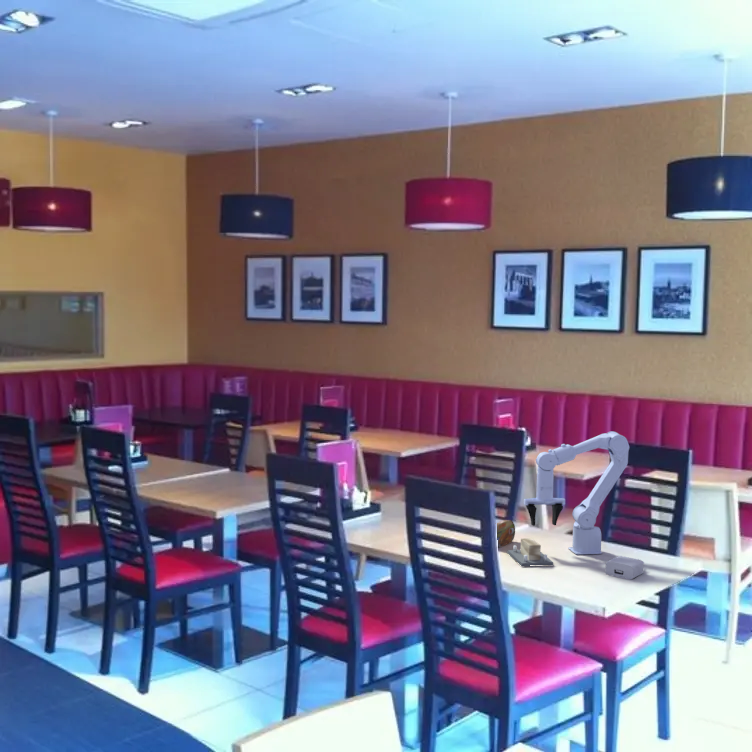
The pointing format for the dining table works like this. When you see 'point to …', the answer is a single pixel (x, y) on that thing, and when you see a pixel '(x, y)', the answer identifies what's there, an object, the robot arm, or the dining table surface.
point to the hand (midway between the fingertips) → (543, 524)
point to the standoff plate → (524, 559)
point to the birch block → (530, 548)
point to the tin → (505, 532)
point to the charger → (624, 567)
